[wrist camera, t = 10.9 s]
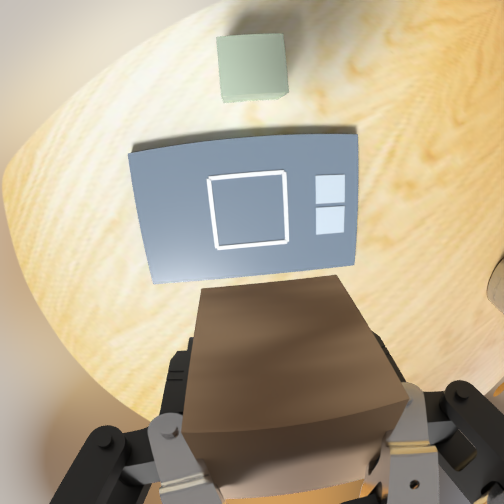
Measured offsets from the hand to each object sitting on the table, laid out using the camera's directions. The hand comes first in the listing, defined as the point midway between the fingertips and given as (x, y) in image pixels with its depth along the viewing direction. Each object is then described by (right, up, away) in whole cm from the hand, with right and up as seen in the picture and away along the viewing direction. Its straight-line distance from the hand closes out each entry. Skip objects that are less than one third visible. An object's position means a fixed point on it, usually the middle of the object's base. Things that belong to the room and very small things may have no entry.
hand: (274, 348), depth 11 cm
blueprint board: (-1, +8, +18) cm, 20 cm away
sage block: (-1, +20, +13) cm, 24 cm away
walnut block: (0, 0, +1) cm, 1 cm away
